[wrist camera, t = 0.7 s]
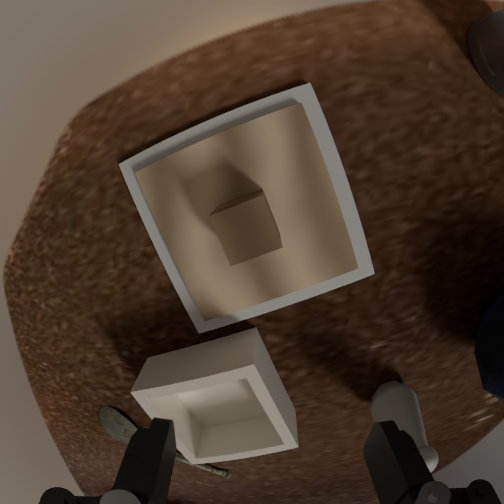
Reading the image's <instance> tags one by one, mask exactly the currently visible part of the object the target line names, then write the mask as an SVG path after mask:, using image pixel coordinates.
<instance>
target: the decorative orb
mask: <svg viewBox="0 0 504 504" xmlns="http://www.w3.org/2000/svg"><path fill="white" fill-rule="evenodd" d="M474 353H475V357H476V361H477V365H478V369H479V373H480V377H481V381H482V386H483V389H484V390H486V391H487V392H489V393H490V394H492V395H493V396H495V397H496V398H498V399H499V400H500V401H502V402H503V403H504V291H503V293H502V294H501V295H500V296H499V297H498V298H497V299H496V300H495V301H494V302H493V303H492V304H491V306H490V307H489V308H488V309H487V310H486V311H485V313H484V315H483V318H482V320H481V322H480V325H479V327H478V329H477V333H476V342H475V350H474Z"/></svg>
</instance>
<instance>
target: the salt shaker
mask: <svg viewBox="0 0 504 504" xmlns="http://www.w3.org/2000/svg"><path fill="white" fill-rule="evenodd" d="M371 413H372V417H373V419H374V420H375V421H376V422H381V421H388V420H393V421H395V423H396V425H397V426H398V428H399V430H405V431H406V432H407V433H408V434H409V435H410V436H411V437H412V438H413V440H414V442H415V444H416V445H417V448H418V449H419V451H420V455H422V457H423V459H424V461H425V463H426V465H427V467H428V469H429V471H430V472H432V471H433V470H434V469H435V467H436V466H437V463H438V460H439V459H438V454H437V452H436V450H435V449H433V448H432V447H431V446H428V444H427V440H426V435H425V430H424V426H423V421H422V417H421V413H420V409H419V405H418V401H417V397H416V394H415V392H414V391H413V390H412V389H411V388H410V387H409V386H407V385H404V384H402V383H400V382H398V381H396V380H393V381H390V382H387V383H384V384H381V385H380V387H379V388H378V389H377V391H376V392H375V393H374V394H373V398H372V403H371Z"/></svg>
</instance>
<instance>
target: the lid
mask: <svg viewBox="0 0 504 504" xmlns="http://www.w3.org/2000/svg"><path fill="white" fill-rule="evenodd" d="M135 175H136V177H137V179H138V182H139V184H140V187H141V189H142V191H143V194H144V196H145V198H146V201H147V203H148V205H149V207H150V210H151V212H152V214H153V216H154V219H155V221H156V223H157V225H158V227H159V230H160V232H161V234H162V236H163V238H164V241H165V243H166V245H167V247H168V249H169V251H170V253H171V255H172V258H173V260H174V262H175V264H176V266H177V268H178V270H179V272H180V274H181V276H182V278H183V280H184V282H185V284H186V286H187V288H188V290H189V292H190V294H191V296H192V298H193V300H194V302H195V304H196V306H197V308H198V310H199V312H200V314H201V316H202V318H203V319H204V321H208V320H211V319H214V318H217V317H220V316H224V315H227V314H230V313H233V312H236V311H239V310H242V309H245V308H248V307H251V306H254V305H257V304H260V303H263V302H266V301H269V300H272V299H275V298H278V297H281V296H284V295H287V294H290V293H293V292H295V291H298V290H301V289H304V288H307V287H310V286H312V285H315V284H318V283H321V282H323V281H326V280H329V279H332V278H334V277H337V276H340V275H342V274H345V273H348V272H351V271H353V270H356V269H358V265H357V261H356V258H355V254H354V251H353V247H352V244H351V240H350V237H349V234H348V230H347V227H346V224H345V221H344V218H343V214H342V211H341V208H340V205H339V202H338V199H337V196H336V193H335V190H334V187H333V184H332V181H331V178H330V176H329V173H328V170H327V167H326V164H325V162H324V159H323V156H322V153H321V151H320V148H319V145H318V143H317V140H316V138H315V135H314V132H313V130H312V127H311V125H310V122H309V120H308V117H307V115H306V112H305V110H304V107H303V105H302V103H299V104H296V105H293V106H290V107H287V108H284V109H281V110H278V111H276V112H273V113H270V114H267V115H264V116H262V117H259V118H256V119H254V120H251V121H249V122H246V123H243V124H241V125H238V126H236V127H233V128H231V129H228V130H226V131H224V132H221V133H219V134H216V135H214V136H212V137H209V138H207V139H205V140H202V141H200V142H198V143H196V144H193V145H191V146H189V147H187V148H184V149H182V150H180V151H178V152H176V153H174V154H172V155H169V156H167V157H165V158H163V159H161V160H159V161H157V162H155V163H153V164H151V165H149V166H147V167H145V168H143V169H141V170H139V171H137V172H135Z"/></svg>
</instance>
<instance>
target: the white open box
mask: <svg viewBox="0 0 504 504" xmlns="http://www.w3.org/2000/svg"><path fill="white" fill-rule="evenodd" d="M131 394H132V395H133V396H134V398H135V399H136V400H137V401H138V403H139V404H140V405H141V407H142V408H143V409H144V410H145V412H146V413H147V414H148V415H149V417H150V418H151V419H152V420H153V418H154V417H157V418H163V419H170V420H173V422H174V430H175V438H176V448H177V449H178V450H179V451H180V452H181V453H182V454H183V455H184V457H185V458H186V459H187V460H188V461H189V462H190V463H191V464H203V463H212V462H220V461H228V460H235V459H241V458H248V457H253V456H259V455H264V454H269V453H274V452H279V451H284V450H288V449H293V448H297V447H298V436H297V425H296V414H295V408H294V406H293V404H292V402H291V400H290V398H289V396H288V394H287V392H286V390H285V388H284V386H283V383H282V381H281V379H280V377H279V375H278V373H277V371H276V369H275V367H274V365H273V362H272V360H271V358H270V356H269V354H268V352H267V350H266V348H265V345H264V343H263V341H262V339H261V337H260V335H259V332H258V330H257V328H256V327H255V328H252V329H248V330H245V331H242V332H239V333H235V334H232V335H229V336H225V337H222V338H218V339H215V340H212V341H208V342H205V343H201V344H197V345H194V346H190V347H187V348H183V349H179V350H175V351H172V352H168V353H164V354H160V355H156V356H152V357H148V358H147V360H146V362H145V364H144V366H143V368H142V370H141V372H140V374H139V376H138V378H137V380H136V382H135V384H134V386H133V388H132V390H131Z"/></svg>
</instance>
